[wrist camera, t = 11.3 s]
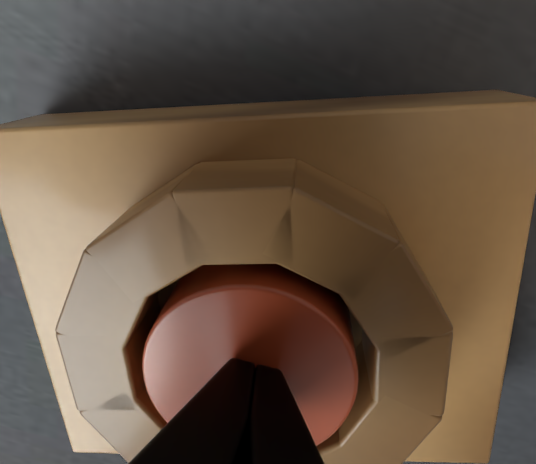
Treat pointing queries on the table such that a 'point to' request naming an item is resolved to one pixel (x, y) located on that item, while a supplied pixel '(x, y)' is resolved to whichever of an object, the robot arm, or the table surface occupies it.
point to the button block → (283, 249)
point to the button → (254, 339)
